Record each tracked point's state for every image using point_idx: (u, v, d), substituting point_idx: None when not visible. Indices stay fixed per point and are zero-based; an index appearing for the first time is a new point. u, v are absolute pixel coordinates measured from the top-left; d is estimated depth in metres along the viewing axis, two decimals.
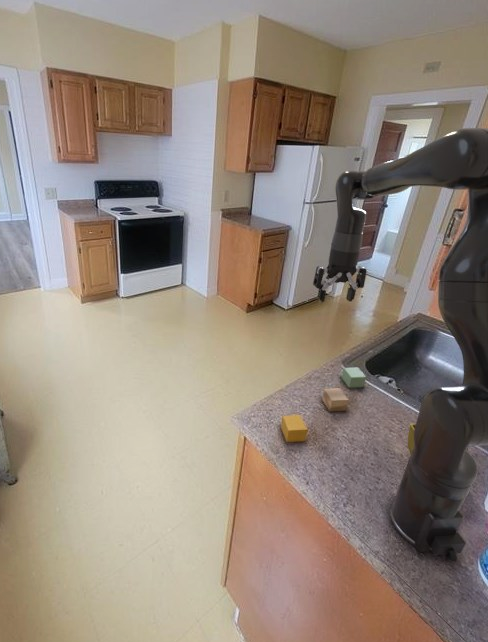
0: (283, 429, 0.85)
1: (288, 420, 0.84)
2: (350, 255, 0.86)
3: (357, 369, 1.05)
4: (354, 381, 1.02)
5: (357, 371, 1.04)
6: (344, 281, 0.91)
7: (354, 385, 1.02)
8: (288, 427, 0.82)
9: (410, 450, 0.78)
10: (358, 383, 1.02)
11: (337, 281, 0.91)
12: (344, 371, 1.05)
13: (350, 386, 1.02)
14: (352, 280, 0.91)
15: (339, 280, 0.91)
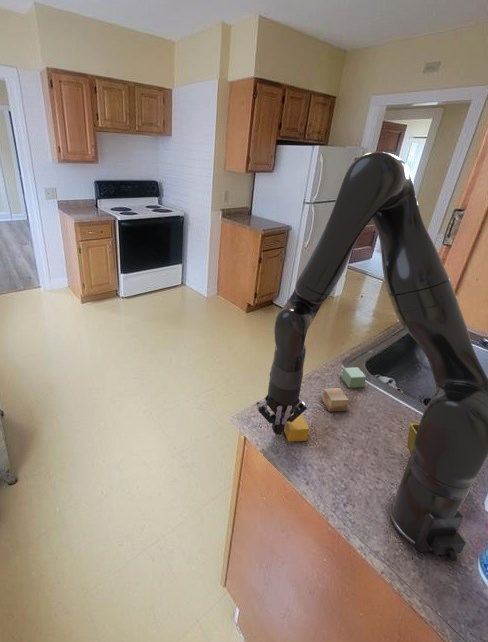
0: (285, 429, 0.85)
1: None
2: (289, 392, 0.75)
3: (357, 369, 1.05)
4: (354, 381, 1.02)
5: (357, 371, 1.04)
6: None
7: (354, 385, 1.02)
8: (290, 427, 0.82)
9: (410, 450, 0.78)
10: (358, 383, 1.02)
11: None
12: (344, 371, 1.05)
13: (350, 386, 1.02)
14: (287, 414, 0.80)
15: None
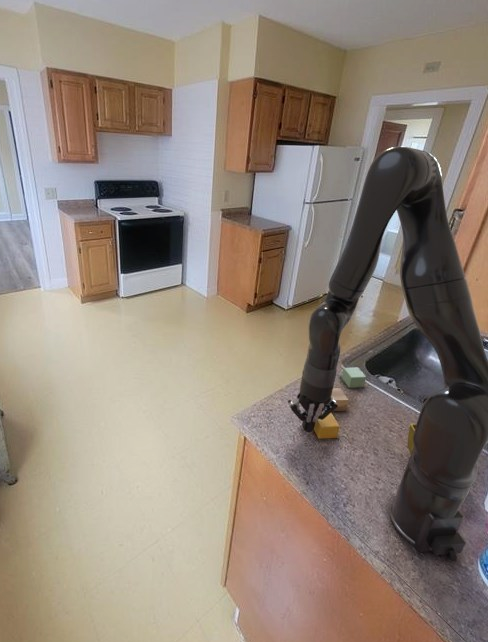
0: None
1: None
2: (323, 390, 0.75)
3: (357, 369, 1.05)
4: (354, 381, 1.02)
5: (357, 371, 1.04)
6: None
7: (354, 385, 1.02)
8: (320, 424, 0.83)
9: (410, 450, 0.78)
10: (358, 383, 1.02)
11: None
12: (344, 371, 1.05)
13: (350, 386, 1.02)
14: (319, 412, 0.81)
15: None
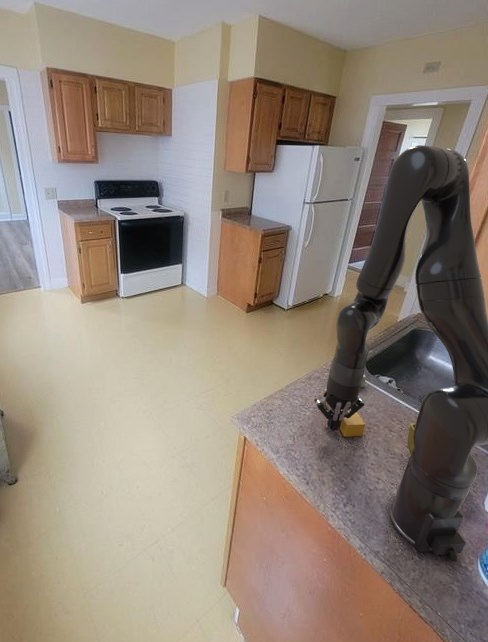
0: None
1: None
2: (351, 389, 0.76)
3: None
4: None
5: None
6: None
7: None
8: (346, 422, 0.84)
9: (410, 450, 0.78)
10: None
11: None
12: None
13: None
14: (346, 410, 0.81)
15: None
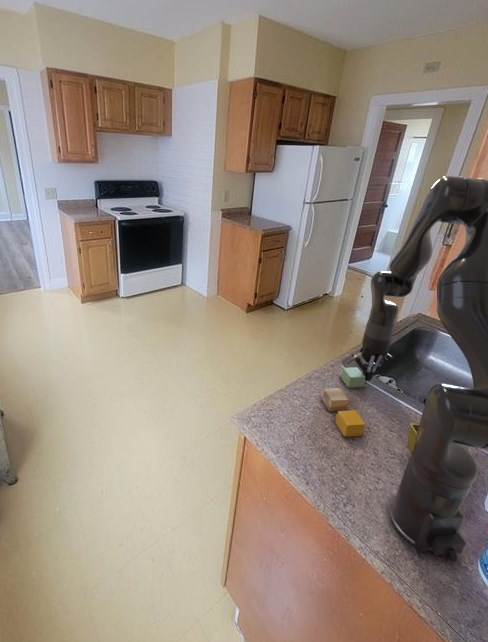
0: (339, 424, 0.87)
1: (345, 415, 0.86)
2: (383, 343, 0.95)
3: (356, 369, 1.05)
4: (353, 380, 1.02)
5: (356, 371, 1.04)
6: None
7: (353, 385, 1.02)
8: (346, 422, 0.84)
9: (410, 450, 0.78)
10: (357, 383, 1.02)
11: None
12: (343, 371, 1.05)
13: (349, 386, 1.02)
14: (378, 363, 1.01)
15: None
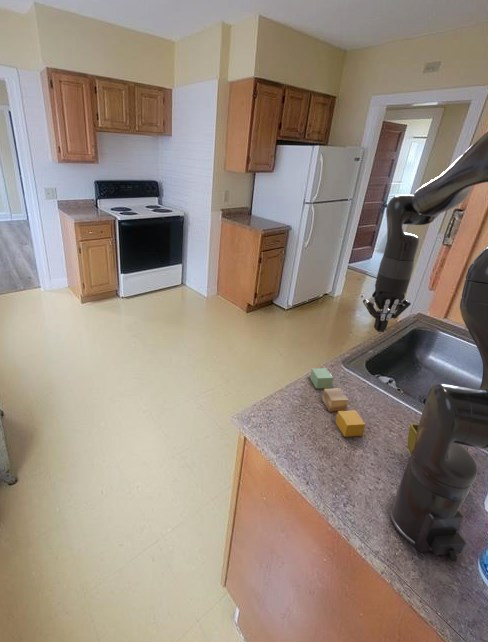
0: (339, 424, 0.87)
1: (345, 415, 0.86)
2: (401, 282, 0.81)
3: (325, 370, 1.04)
4: (320, 381, 1.01)
5: (325, 372, 1.03)
6: None
7: (321, 386, 1.02)
8: (346, 422, 0.84)
9: (410, 450, 0.78)
10: (325, 383, 1.01)
11: None
12: (312, 372, 1.04)
13: (317, 387, 1.02)
14: (393, 309, 0.87)
15: None
